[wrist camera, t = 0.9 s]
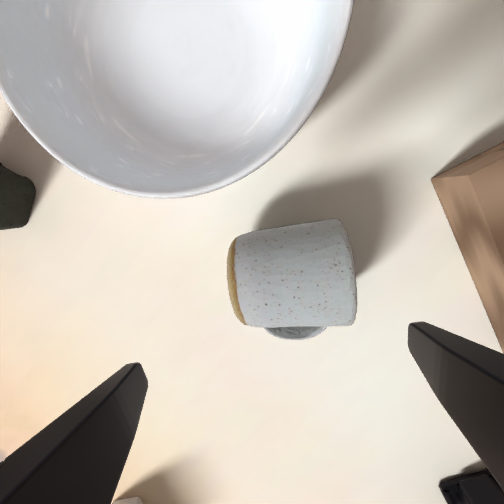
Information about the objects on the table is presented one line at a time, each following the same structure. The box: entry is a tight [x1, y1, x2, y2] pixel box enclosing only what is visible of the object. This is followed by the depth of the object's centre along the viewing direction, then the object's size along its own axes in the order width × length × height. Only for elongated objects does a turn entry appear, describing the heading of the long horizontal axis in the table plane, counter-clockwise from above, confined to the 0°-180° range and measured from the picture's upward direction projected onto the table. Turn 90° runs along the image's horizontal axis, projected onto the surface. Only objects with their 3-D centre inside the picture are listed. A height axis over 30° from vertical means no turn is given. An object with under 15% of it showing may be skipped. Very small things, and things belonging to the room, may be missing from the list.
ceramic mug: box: [227, 219, 357, 340], centre depth 19 cm, size 11×8×8 cm
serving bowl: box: [0, 0, 354, 199], centre depth 16 cm, size 21×21×7 cm
